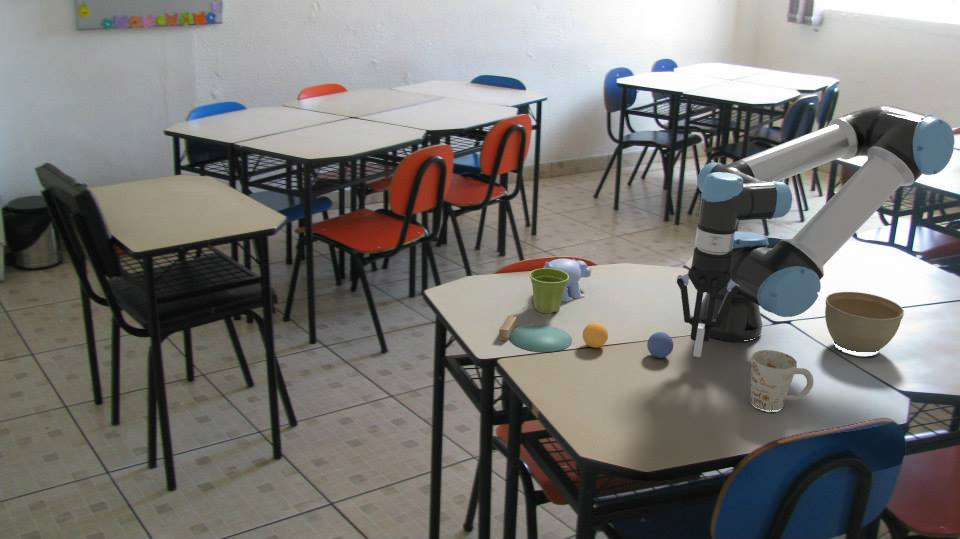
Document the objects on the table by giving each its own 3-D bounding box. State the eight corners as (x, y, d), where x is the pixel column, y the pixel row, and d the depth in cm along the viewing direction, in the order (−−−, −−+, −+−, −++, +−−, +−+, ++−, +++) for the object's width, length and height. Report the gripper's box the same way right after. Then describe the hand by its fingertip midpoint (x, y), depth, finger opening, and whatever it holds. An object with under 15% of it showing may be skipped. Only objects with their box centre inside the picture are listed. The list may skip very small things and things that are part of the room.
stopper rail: (516, 326, 207) (516, 316, 206) (507, 340, 200) (508, 330, 199) (507, 325, 208) (508, 315, 207) (498, 339, 200) (499, 329, 199)
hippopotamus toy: (601, 293, 229) (604, 257, 226) (556, 305, 221) (559, 268, 217) (572, 279, 237) (575, 245, 234) (528, 290, 229) (530, 255, 225)
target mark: (576, 330, 207) (576, 329, 207) (565, 356, 194) (566, 355, 194) (516, 321, 210) (516, 320, 210) (502, 346, 197) (502, 345, 197)
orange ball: (608, 343, 201) (610, 320, 199) (604, 353, 196) (607, 330, 194) (583, 339, 202) (585, 316, 200) (579, 349, 197) (581, 326, 195)
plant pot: (563, 318, 213) (566, 284, 210) (524, 314, 214) (526, 279, 211) (568, 304, 221) (571, 270, 218) (530, 299, 223) (532, 266, 220)
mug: (738, 395, 181) (745, 349, 177) (799, 395, 182) (807, 350, 179) (753, 416, 173) (761, 369, 170) (816, 416, 174) (826, 369, 171)
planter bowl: (890, 341, 209) (900, 297, 206) (897, 370, 195) (908, 324, 191) (816, 329, 214) (824, 286, 210) (818, 357, 199) (827, 311, 196)
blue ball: (672, 353, 198) (675, 330, 196) (670, 363, 193) (673, 340, 191) (647, 349, 199) (649, 326, 197) (644, 359, 194) (647, 336, 192)
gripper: (680, 250, 183) (665, 356, 191) (746, 259, 180) (728, 366, 188) (681, 239, 190) (666, 342, 198) (745, 247, 187) (728, 351, 195)
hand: (697, 354), depth 193 cm, fingers closed
